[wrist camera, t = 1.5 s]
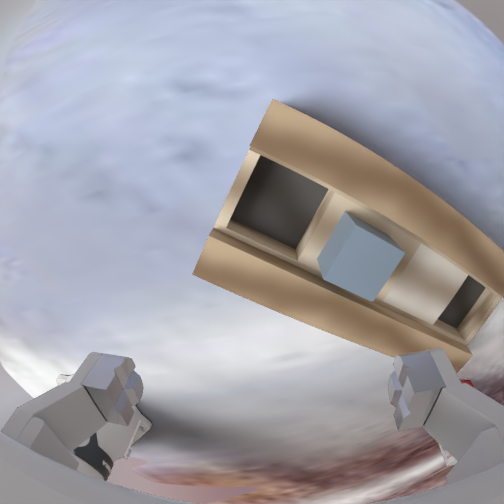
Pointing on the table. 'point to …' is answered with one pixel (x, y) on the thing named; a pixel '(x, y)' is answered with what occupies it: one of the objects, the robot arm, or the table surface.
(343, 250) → the slate block
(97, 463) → the robot arm
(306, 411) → the table surface
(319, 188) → the trap lane
